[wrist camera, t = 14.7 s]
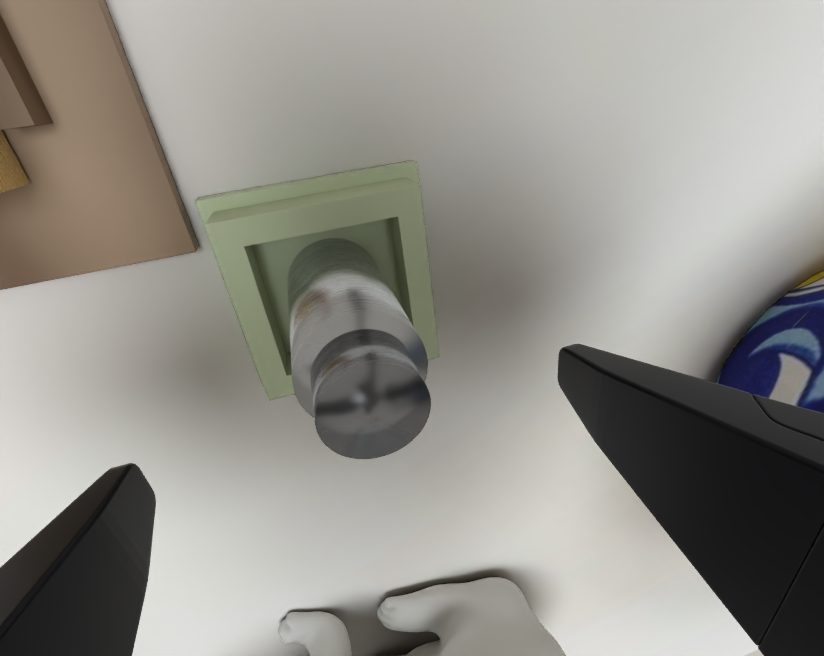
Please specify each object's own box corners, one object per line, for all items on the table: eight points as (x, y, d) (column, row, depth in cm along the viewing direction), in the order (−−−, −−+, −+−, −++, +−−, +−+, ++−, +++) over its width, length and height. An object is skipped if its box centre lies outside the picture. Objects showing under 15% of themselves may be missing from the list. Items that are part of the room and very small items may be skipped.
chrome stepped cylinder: (370, 229, 15) (441, 328, 8) (385, 311, 16) (454, 447, 10) (276, 248, 14) (273, 371, 8) (300, 332, 16) (315, 490, 9)
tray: (412, 160, 15) (431, 168, 13) (432, 335, 18) (450, 362, 16) (198, 197, 13) (184, 212, 12) (263, 377, 17) (261, 412, 15)
